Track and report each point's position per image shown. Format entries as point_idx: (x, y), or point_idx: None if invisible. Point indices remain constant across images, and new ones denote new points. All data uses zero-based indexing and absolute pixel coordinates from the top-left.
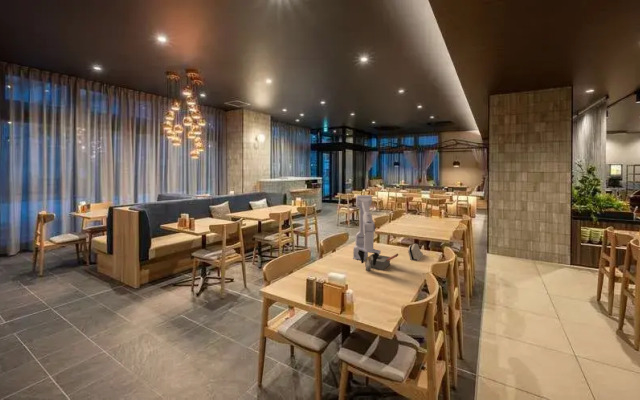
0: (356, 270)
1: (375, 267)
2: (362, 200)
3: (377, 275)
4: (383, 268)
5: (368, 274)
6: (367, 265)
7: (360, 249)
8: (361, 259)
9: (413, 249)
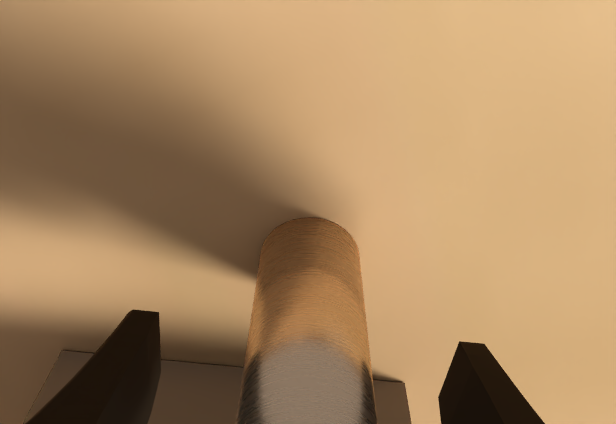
0: (548, 152)
1: (211, 378)
2: None
3: (4, 37)
4: (52, 371)
5: (219, 12)
6: (312, 294)
7: None
8: (517, 421)
9: None
